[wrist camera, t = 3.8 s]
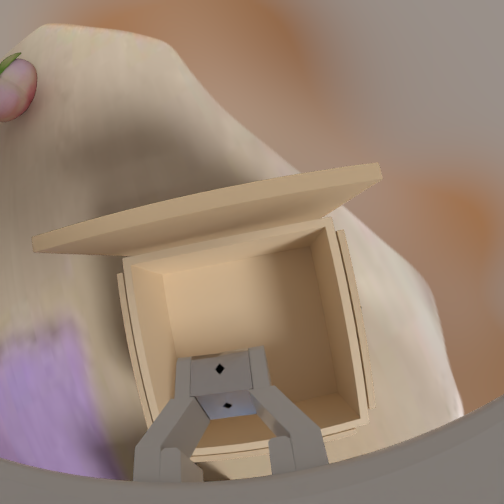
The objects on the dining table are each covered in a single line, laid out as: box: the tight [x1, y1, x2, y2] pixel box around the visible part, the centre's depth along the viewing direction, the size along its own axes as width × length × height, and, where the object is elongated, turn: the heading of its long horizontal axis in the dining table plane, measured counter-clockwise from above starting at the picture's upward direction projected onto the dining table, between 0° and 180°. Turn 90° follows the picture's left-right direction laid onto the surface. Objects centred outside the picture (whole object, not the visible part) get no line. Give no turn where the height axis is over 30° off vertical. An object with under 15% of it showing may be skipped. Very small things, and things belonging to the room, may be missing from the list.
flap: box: [32, 163, 383, 256], centre depth 16 cm, size 1×13×11 cm, turn 102°
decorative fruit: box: [0, 53, 37, 122], centre depth 29 cm, size 9×8×10 cm
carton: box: [117, 217, 376, 462], centre depth 24 cm, size 16×16×8 cm
